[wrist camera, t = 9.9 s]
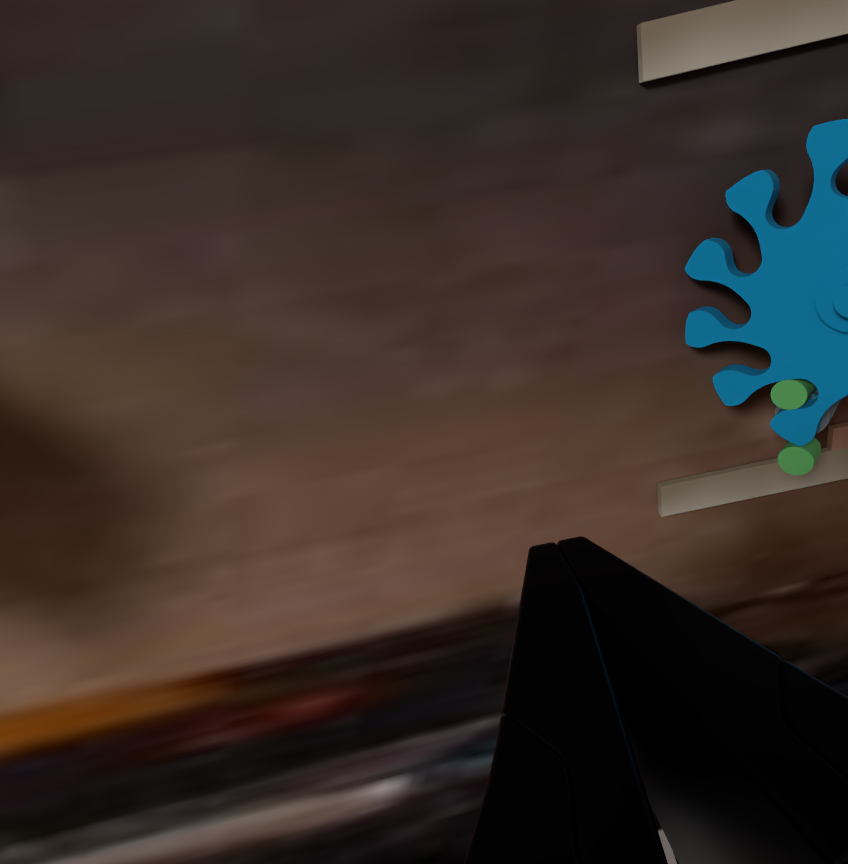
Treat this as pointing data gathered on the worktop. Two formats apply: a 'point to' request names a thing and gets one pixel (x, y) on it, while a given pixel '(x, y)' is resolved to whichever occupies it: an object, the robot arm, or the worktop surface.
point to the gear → (787, 300)
